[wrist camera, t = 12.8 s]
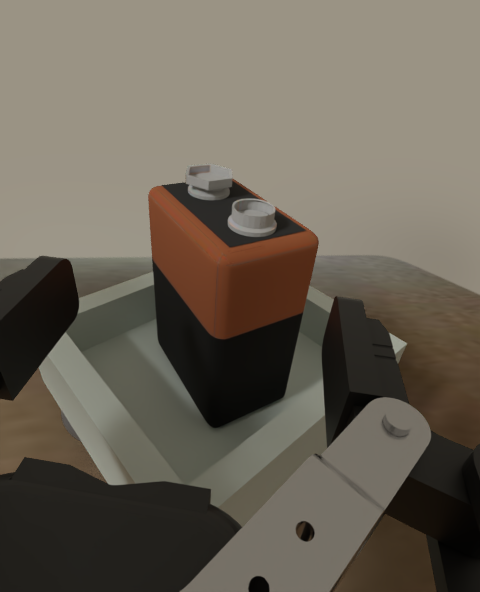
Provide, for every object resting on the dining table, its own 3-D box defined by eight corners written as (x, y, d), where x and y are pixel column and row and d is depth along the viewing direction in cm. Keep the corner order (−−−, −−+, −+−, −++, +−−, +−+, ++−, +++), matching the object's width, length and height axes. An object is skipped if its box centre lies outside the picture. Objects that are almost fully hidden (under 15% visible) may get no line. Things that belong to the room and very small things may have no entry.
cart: (180, 628, 16) (176, 543, 11) (57, 423, 24) (22, 318, 19) (363, 440, 24) (407, 343, 19) (228, 331, 32) (236, 241, 27)
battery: (222, 320, 24) (233, 154, 18) (288, 400, 19) (332, 212, 13) (154, 342, 22) (142, 163, 16) (210, 436, 17) (221, 234, 11)
